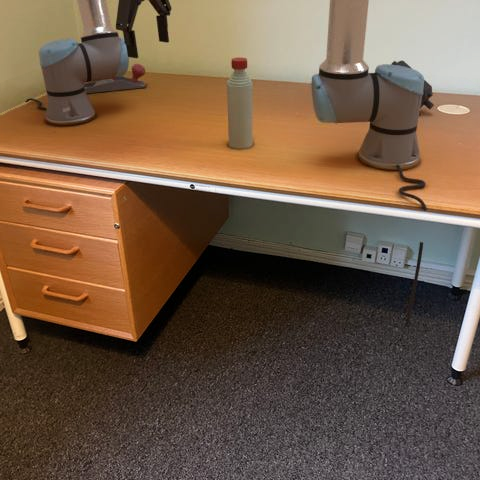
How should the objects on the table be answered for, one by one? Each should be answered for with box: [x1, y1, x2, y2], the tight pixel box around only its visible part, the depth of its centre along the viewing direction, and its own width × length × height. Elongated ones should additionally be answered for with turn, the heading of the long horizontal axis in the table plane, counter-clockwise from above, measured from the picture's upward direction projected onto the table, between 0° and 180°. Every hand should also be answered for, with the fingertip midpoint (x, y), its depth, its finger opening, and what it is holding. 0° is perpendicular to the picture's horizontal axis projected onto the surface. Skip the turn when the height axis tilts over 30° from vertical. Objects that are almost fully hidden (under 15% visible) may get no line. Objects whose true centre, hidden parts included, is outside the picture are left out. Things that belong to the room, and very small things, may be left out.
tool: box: [390, 60, 435, 111], centre depth 170 cm, size 6×19×15 cm, turn 51°
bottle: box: [226, 69, 254, 150], centre depth 144 cm, size 7×7×23 cm
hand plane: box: [84, 63, 146, 94], centre depth 194 cm, size 7×31×15 cm, turn 107°
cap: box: [230, 56, 248, 70], centre depth 138 cm, size 4×4×2 cm
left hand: (149, 49), depth 138 cm, fingers open, 13 cm apart
